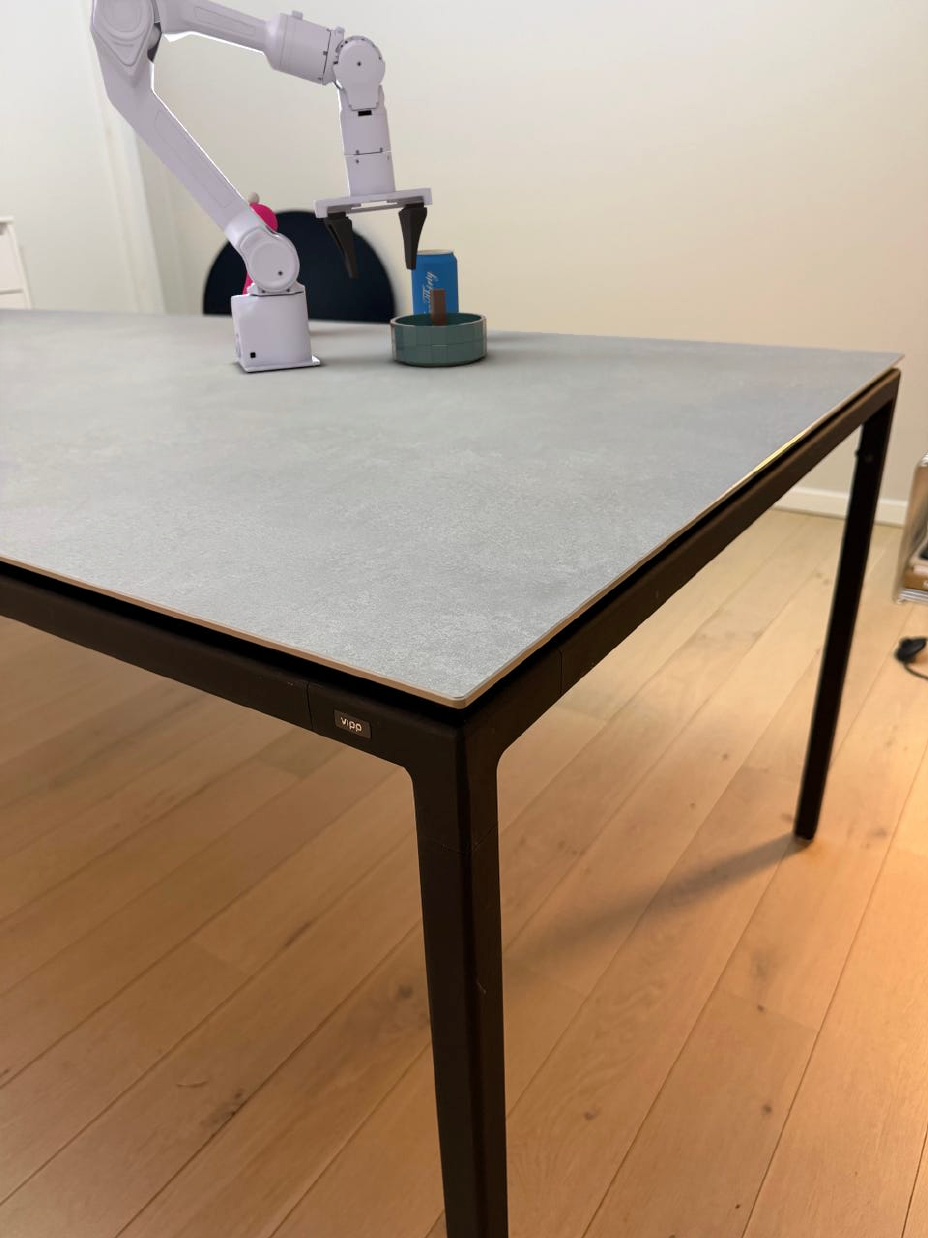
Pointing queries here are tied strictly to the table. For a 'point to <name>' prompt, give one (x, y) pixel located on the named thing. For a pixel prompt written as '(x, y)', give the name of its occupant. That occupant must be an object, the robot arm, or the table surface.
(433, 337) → the bowl
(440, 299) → the stirring stick
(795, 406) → the table surface
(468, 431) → the table surface
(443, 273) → the beverage can
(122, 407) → the table surface
